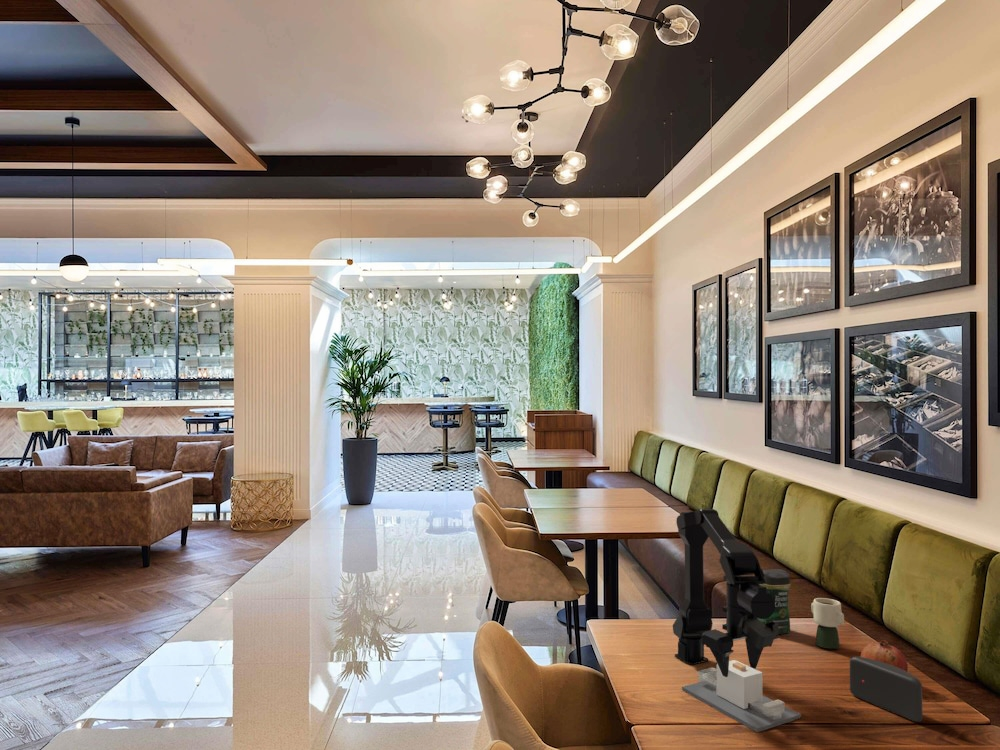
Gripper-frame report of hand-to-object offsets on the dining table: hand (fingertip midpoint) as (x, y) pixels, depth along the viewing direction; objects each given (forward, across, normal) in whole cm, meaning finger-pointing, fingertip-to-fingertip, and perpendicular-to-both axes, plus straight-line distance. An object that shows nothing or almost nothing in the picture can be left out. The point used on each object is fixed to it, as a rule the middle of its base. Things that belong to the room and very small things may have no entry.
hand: (739, 672), depth 149 cm
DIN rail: (+7, 0, 0) cm, 7 cm away
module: (+6, 0, 0) cm, 6 cm away
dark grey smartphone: (+7, +28, -17) cm, 34 cm away
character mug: (+7, +51, +13) cm, 53 cm away
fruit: (+7, +43, -8) cm, 44 cm away
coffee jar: (+7, +48, +29) cm, 57 cm away
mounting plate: (+7, 0, 0) cm, 7 cm away
